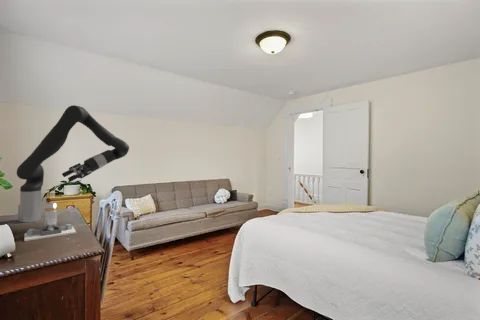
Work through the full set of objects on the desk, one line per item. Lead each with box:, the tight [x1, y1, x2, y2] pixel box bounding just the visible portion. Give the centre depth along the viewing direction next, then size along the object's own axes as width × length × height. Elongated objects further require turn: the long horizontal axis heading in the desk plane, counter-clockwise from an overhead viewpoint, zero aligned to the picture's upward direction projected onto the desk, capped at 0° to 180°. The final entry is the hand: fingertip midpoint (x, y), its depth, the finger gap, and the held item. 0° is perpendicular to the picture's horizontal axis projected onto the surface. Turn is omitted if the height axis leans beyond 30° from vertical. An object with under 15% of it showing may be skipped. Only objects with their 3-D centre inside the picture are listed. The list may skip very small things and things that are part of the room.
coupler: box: [44, 202, 58, 232], centre depth 118 cm, size 5×5×14 cm
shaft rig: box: [23, 223, 77, 242], centre depth 118 cm, size 19×11×3 cm, turn 131°
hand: (65, 177), depth 129 cm, fingers open, 8 cm apart
